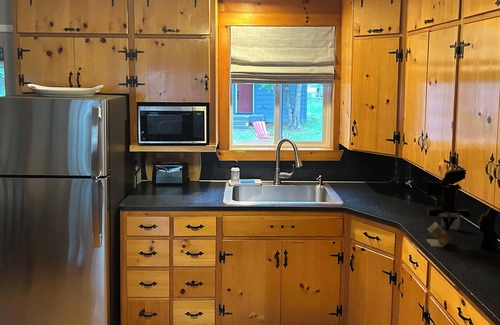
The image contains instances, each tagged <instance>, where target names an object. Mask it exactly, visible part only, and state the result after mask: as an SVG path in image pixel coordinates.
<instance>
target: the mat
mask: <svg viewBox="0 0 500 325" xmlns="http://www.w3.org/2000/svg"><path fill="white" fill-rule="evenodd" d="M426 243H428V244H429V245H430V246H431V248H444V245H443V244H442V243H441V242H440V241H439V240H438V239H437V238H436V239H430V238H429V239H428V238H426Z"/></svg>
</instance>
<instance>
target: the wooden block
mask: <svg viewBox="0 0 500 325" xmlns="http://www.w3.org/2000/svg"><path fill="white" fill-rule="evenodd" d="M427 230H428V231H429V232H430V233H431V234H432V236H434V237H435V238H436V239H437V240H438V241H439V242H440V243H441V244H442V245H443V247H444V246H445V247H446V245H447V244H448V243H450V241H451V240H453V238H452V237H451V236H450V235H449V234H448V231H446V229H445V228H442V227H441V225H439V224H438V223H437V222H436V221H435V222H433V223H432V224H431V225H430V226H429V227H427Z"/></svg>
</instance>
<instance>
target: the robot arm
mask: <svg viewBox="0 0 500 325" xmlns="http://www.w3.org/2000/svg"><path fill="white" fill-rule="evenodd" d="M464 169H465V168H459V169H449V170H447V171H446V172H445V174H444V177H443V178H442V179H440V182H439V181H429V180H428V181H427V186H426V197H427V196H428V197H440V196H442V198H441V200H440V199H435V202H434V205H435V207H427V208H426V214H427V215H428V216H429V217H437V216H439V217H440V218H441V220H442V219H443V222H444V225H445V228H444V230H445V231H446V232H448V231H449V228H450V226H451V225H452V223H453V222H454V220H455V219H458V218H457V215H460V216H462V217H463V218H471V214H472V213H471V211H470V210H469V209H467V208H458V209H457V210H456V205H457V192H458V191H457V190H462V187H461V185H460V182H461V181H463V180H464V179H466V178H465V174H466V172H465V171H466V170H464ZM437 207H438V209H437ZM498 213H499V211H496V210H494V209H492V208H490V207H488V210H487V211H486V212H485V213H481V215H480V218H479V219H478V220H477V223H478V227H479V231H480V232H481V236H480V237H479V238H480V239H479V245H478V247H479V248H480V249H482V250H483V251H493V252H494V251H495V252H499V249H498V240H499V238H498V237H499V236H498V231H497V228H495V223H496V218H497V215H498ZM447 214H448V217H447Z"/></svg>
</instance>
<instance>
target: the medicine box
mask: <svg viewBox="0 0 500 325" xmlns="http://www.w3.org/2000/svg"><path fill="white" fill-rule="evenodd" d="M447 217H448V214H447ZM457 218H458V219H455V220H454V222H453V223H452V225H451V226H450V228H449V230H450V231H451V230H452V231H455V232H456V231H458V230H460V225H461V223H460V222H461V215H457ZM440 224H441V225H440V226H441V227H442V228H443V229H445V225H444V222H443V219H442V218H441V223H440ZM449 230H448V231H449Z"/></svg>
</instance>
